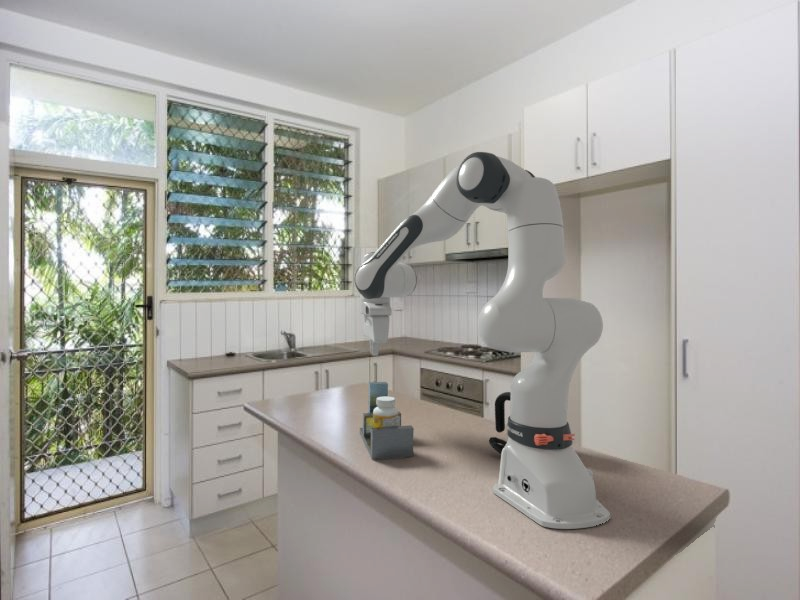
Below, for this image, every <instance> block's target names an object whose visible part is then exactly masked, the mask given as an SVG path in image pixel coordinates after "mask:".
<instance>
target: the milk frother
mask: <svg viewBox="0 0 800 600" xmlns="http://www.w3.org/2000/svg"><path fill="white" fill-rule="evenodd" d="M510 395H511V391H505V392H502V393H500V394H499V395H498V396H497V397H496V399H495V401H494V421H495V422H494V423H495V431H496V432H497V433H502V432H504V431H505V429H506V421H505V420H506V419H505V417H506V415H505V414H506V413H505V410H506V409H505V403H506V401H507V402H508V401H509V402H510ZM488 443H489V445H490V446H491V448H492V449H493V450H495V451H496V452H497V453H499V454H500V455H501V453H502V450H503V448H504V447H505V445H506V443H507V441H506V440H503V439H502V438H499V437H494V436H492V437H489V438H488Z"/></svg>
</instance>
